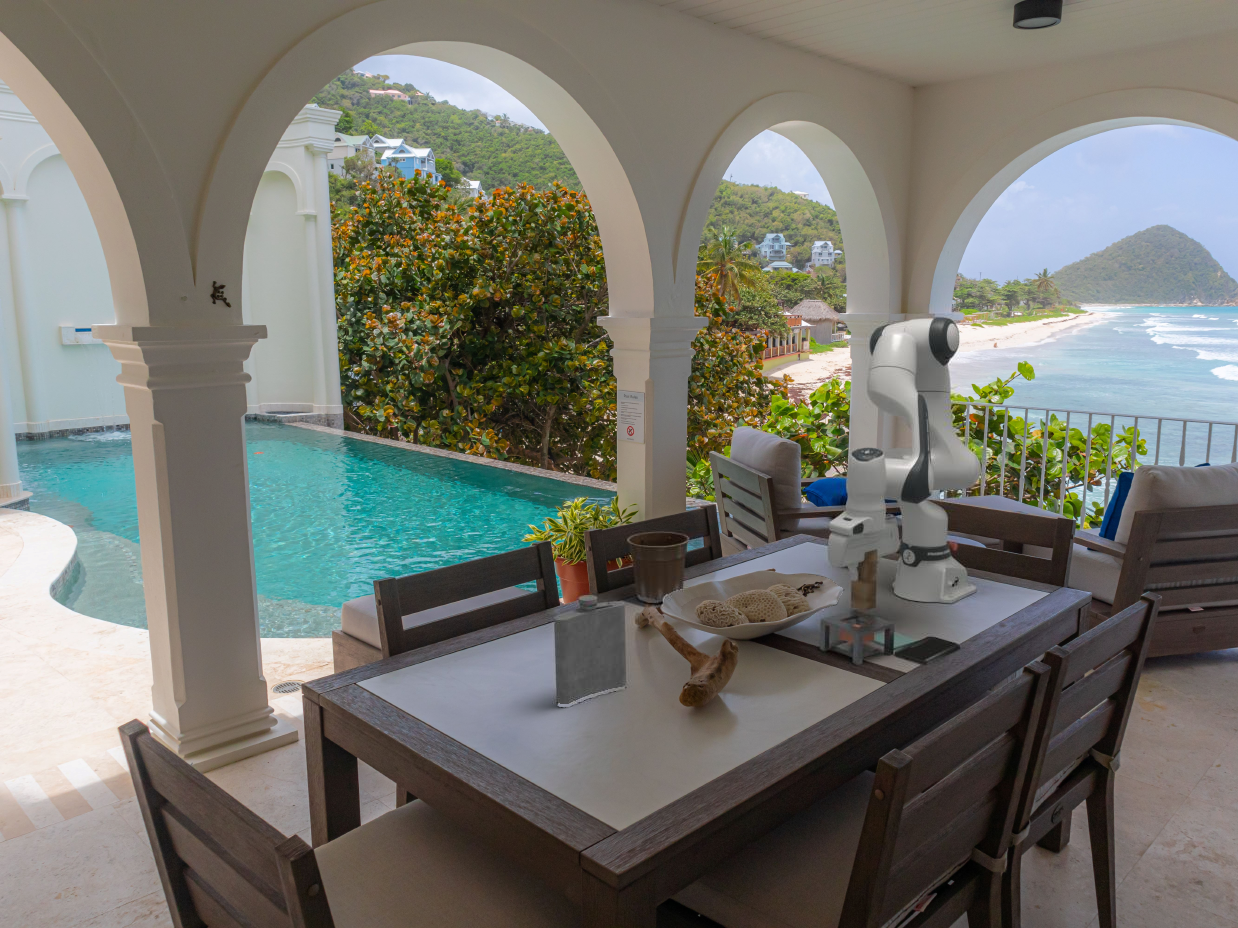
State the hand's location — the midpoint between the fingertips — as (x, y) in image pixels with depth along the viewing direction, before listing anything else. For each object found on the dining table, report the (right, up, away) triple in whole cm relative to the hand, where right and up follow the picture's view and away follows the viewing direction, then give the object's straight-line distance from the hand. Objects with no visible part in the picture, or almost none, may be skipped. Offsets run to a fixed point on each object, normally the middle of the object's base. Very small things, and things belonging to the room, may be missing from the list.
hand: (863, 577), depth 204 cm
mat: (+5, -14, -5) cm, 15 cm away
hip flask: (-62, -19, -31) cm, 72 cm away
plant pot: (-46, -9, +29) cm, 55 cm away
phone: (+11, -15, -12) cm, 22 cm away
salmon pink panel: (-5, -12, -12) cm, 17 cm away
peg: (0, -7, +1) cm, 7 cm away
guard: (-5, -15, -11) cm, 19 cm away
